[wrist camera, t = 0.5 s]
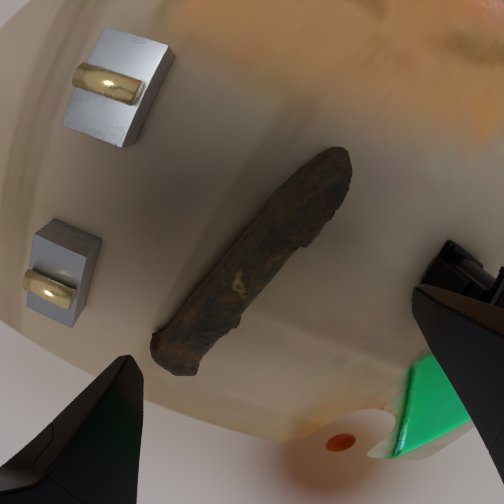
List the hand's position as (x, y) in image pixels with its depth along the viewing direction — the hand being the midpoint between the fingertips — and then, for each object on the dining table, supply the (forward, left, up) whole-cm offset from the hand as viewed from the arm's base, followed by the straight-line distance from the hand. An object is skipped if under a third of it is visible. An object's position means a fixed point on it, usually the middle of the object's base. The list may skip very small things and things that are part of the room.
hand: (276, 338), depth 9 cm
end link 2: (+10, -4, -13) cm, 17 cm away
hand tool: (-1, +3, -13) cm, 13 cm away
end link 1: (+10, +9, -13) cm, 18 cm away
